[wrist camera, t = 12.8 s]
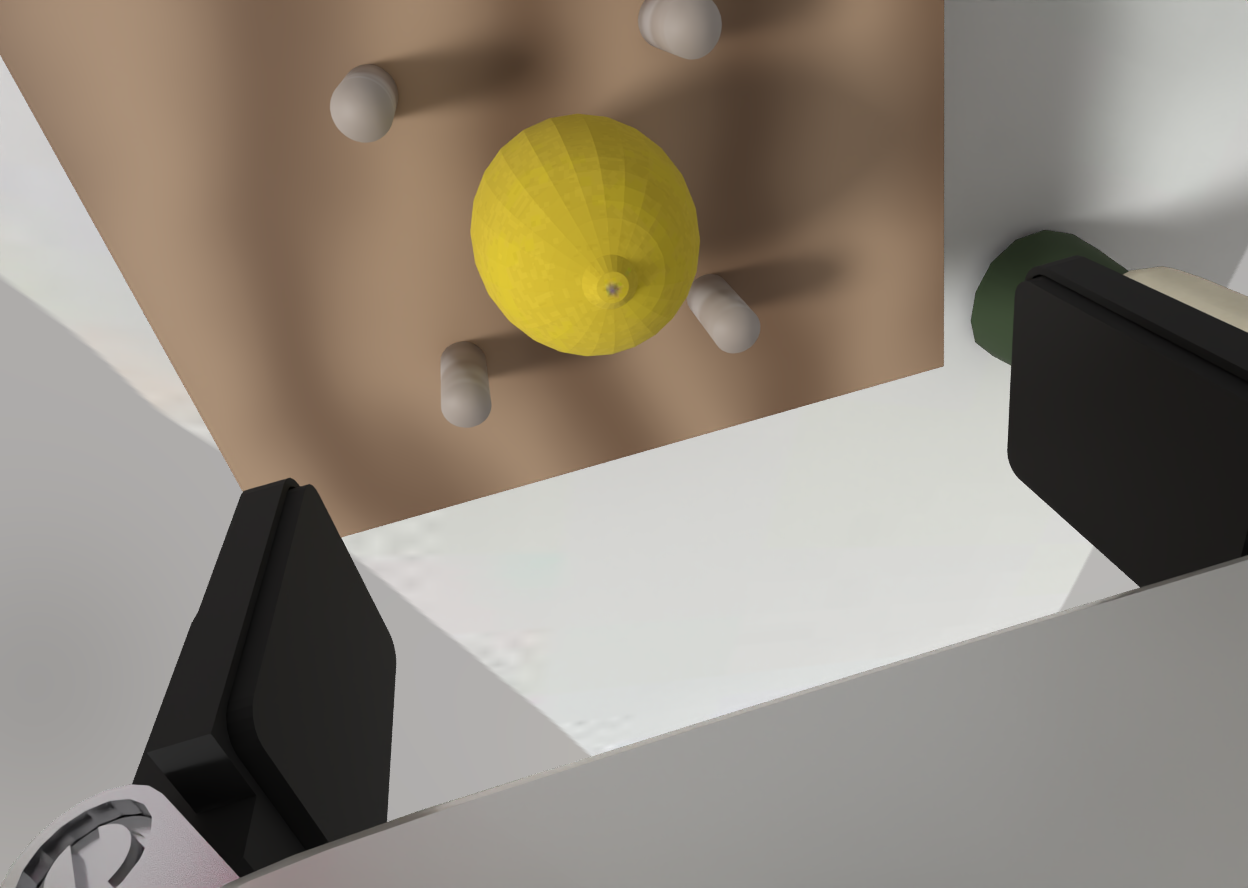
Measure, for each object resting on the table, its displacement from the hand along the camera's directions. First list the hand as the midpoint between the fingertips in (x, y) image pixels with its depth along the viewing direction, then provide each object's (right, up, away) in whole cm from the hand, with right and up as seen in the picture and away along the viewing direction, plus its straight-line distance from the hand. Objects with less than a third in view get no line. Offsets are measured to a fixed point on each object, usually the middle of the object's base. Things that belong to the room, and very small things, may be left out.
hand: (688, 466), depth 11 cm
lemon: (-3, +8, +13) cm, 16 cm away
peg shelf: (-5, +12, +21) cm, 24 cm away
